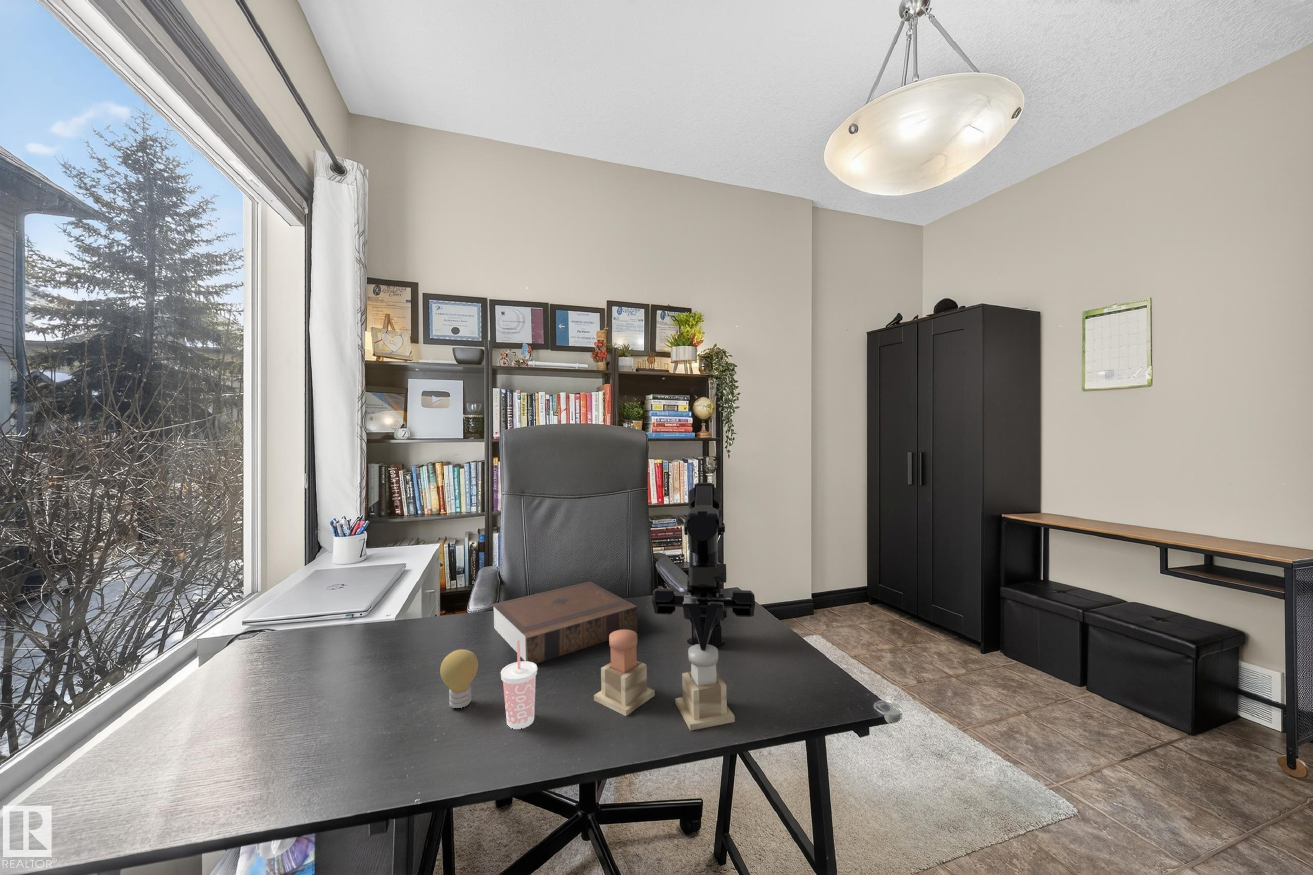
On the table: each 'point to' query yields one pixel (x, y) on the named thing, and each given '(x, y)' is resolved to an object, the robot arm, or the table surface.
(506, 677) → the beverage cup
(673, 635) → the table surface
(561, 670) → the table surface
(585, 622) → the book
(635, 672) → the cream square holder
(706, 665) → the light grey rounded piece
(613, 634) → the terracotta plunger
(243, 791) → the table surface
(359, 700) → the table surface
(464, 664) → the light bulb
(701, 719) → the beige square socket
